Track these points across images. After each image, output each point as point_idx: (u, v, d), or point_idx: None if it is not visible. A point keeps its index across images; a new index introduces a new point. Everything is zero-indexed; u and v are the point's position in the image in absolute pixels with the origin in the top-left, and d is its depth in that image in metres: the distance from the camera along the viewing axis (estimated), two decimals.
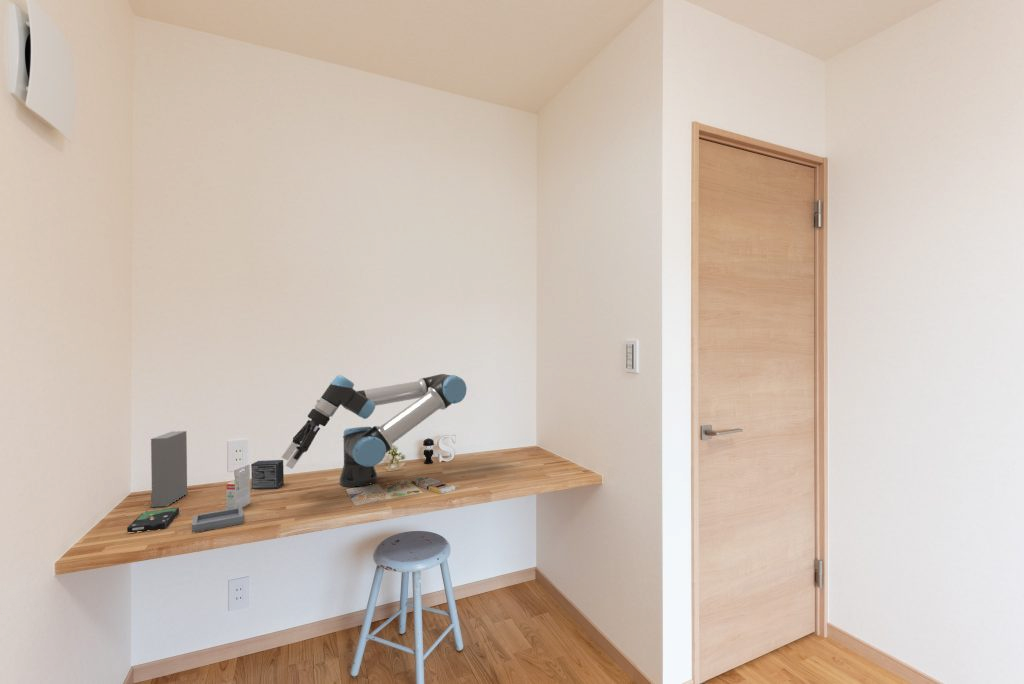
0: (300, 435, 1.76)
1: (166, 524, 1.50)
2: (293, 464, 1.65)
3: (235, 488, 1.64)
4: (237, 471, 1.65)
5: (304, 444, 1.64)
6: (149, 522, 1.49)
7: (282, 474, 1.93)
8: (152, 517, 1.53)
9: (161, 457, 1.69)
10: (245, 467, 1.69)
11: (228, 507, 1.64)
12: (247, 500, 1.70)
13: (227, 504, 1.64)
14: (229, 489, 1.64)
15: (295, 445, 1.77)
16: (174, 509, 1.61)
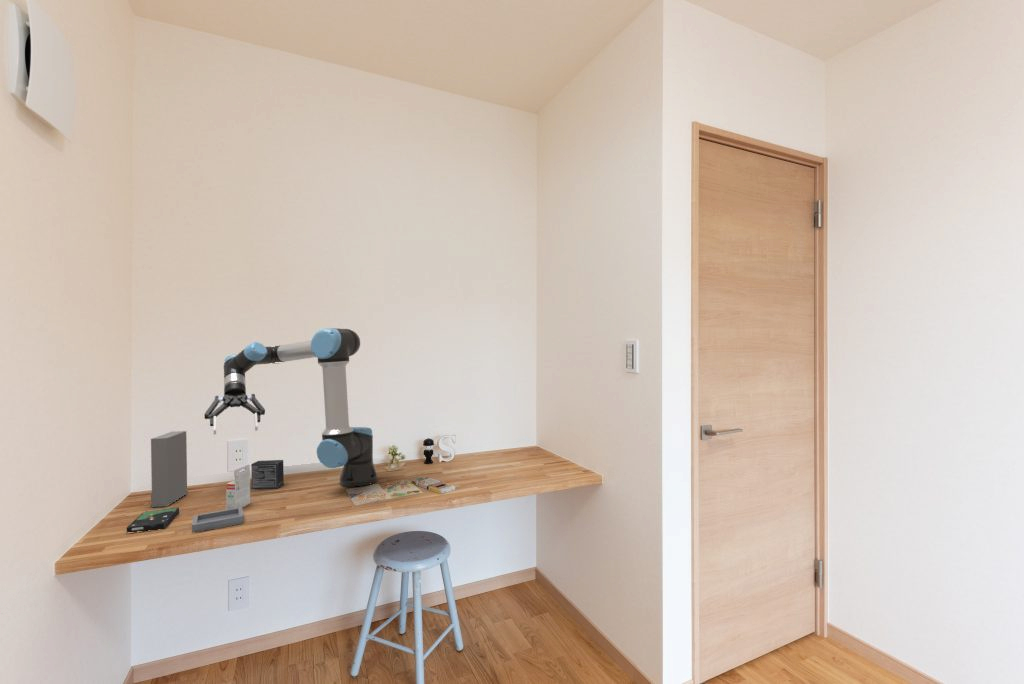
0: (247, 408, 1.85)
1: (166, 524, 1.50)
2: None
3: (235, 488, 1.64)
4: (237, 471, 1.65)
5: None
6: (148, 522, 1.49)
7: (282, 474, 1.93)
8: (152, 517, 1.53)
9: (161, 457, 1.69)
10: (245, 467, 1.69)
11: (228, 507, 1.64)
12: (247, 500, 1.70)
13: (227, 504, 1.64)
14: (229, 489, 1.64)
15: None
16: (174, 509, 1.61)
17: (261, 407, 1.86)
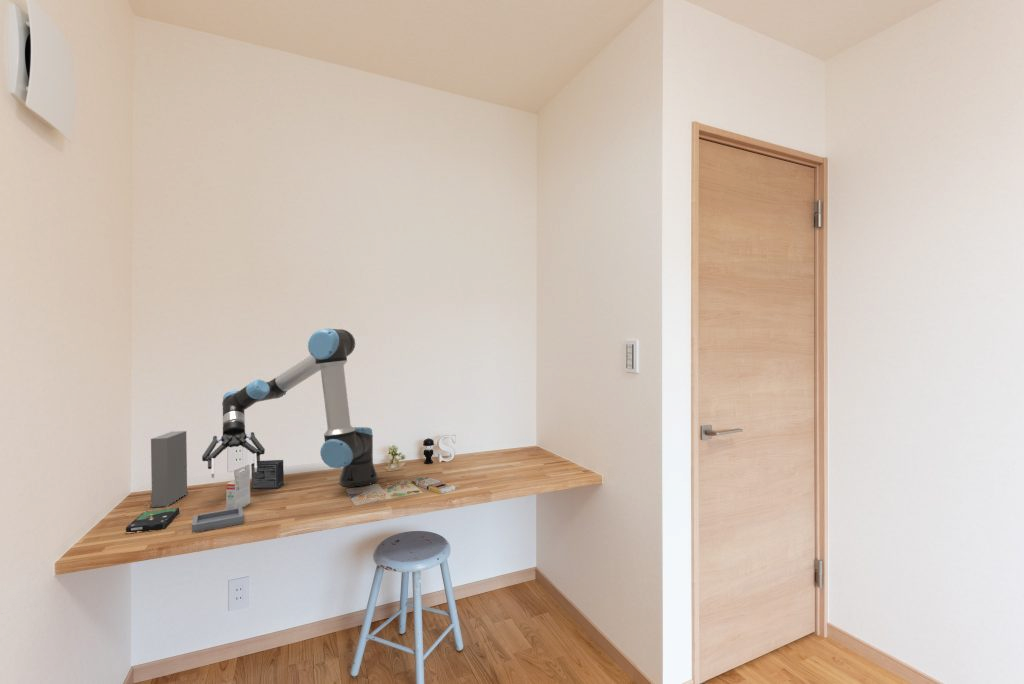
0: (247, 448, 1.80)
1: (165, 524, 1.50)
2: (211, 471, 1.68)
3: (235, 488, 1.64)
4: (237, 471, 1.65)
5: None
6: (148, 522, 1.49)
7: (282, 474, 1.93)
8: (151, 517, 1.53)
9: (160, 458, 1.69)
10: (245, 467, 1.69)
11: (228, 507, 1.64)
12: (247, 500, 1.70)
13: (227, 504, 1.64)
14: (229, 489, 1.64)
15: (254, 455, 1.78)
16: (174, 509, 1.60)
17: (261, 446, 1.81)
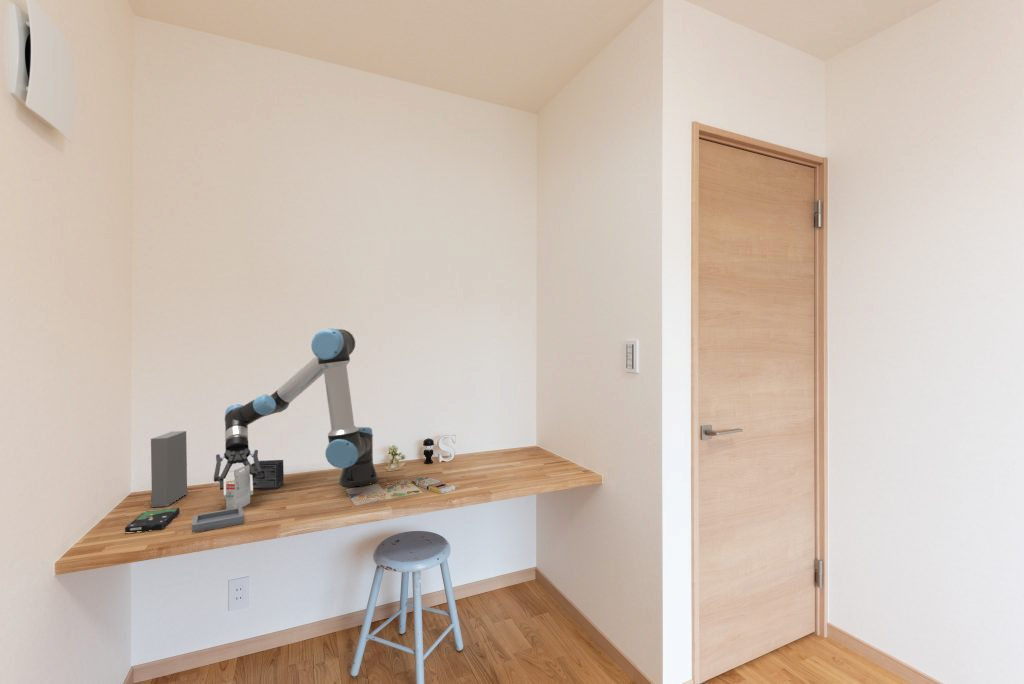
0: None
1: (164, 525, 1.49)
2: None
3: (234, 488, 1.64)
4: (237, 471, 1.65)
5: None
6: (147, 522, 1.49)
7: (282, 474, 1.93)
8: (151, 517, 1.53)
9: (160, 457, 1.69)
10: (245, 467, 1.69)
11: (228, 507, 1.64)
12: (247, 500, 1.70)
13: (227, 504, 1.64)
14: (229, 489, 1.64)
15: None
16: (174, 509, 1.60)
17: (258, 467, 1.73)
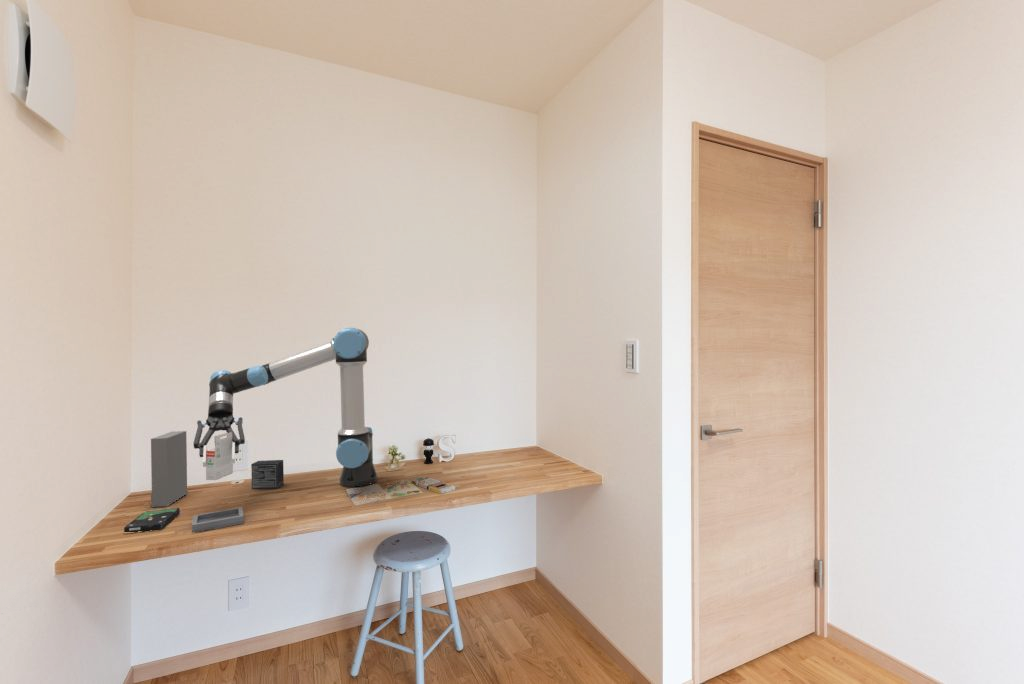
0: None
1: (163, 525, 1.49)
2: (203, 459, 1.52)
3: (215, 455, 1.53)
4: (218, 437, 1.55)
5: None
6: (146, 522, 1.49)
7: (282, 474, 1.93)
8: (151, 517, 1.53)
9: (161, 457, 1.69)
10: (227, 434, 1.59)
11: (208, 475, 1.54)
12: (229, 469, 1.60)
13: (207, 472, 1.54)
14: (209, 456, 1.54)
15: (232, 445, 1.60)
16: (174, 509, 1.60)
17: (242, 435, 1.63)
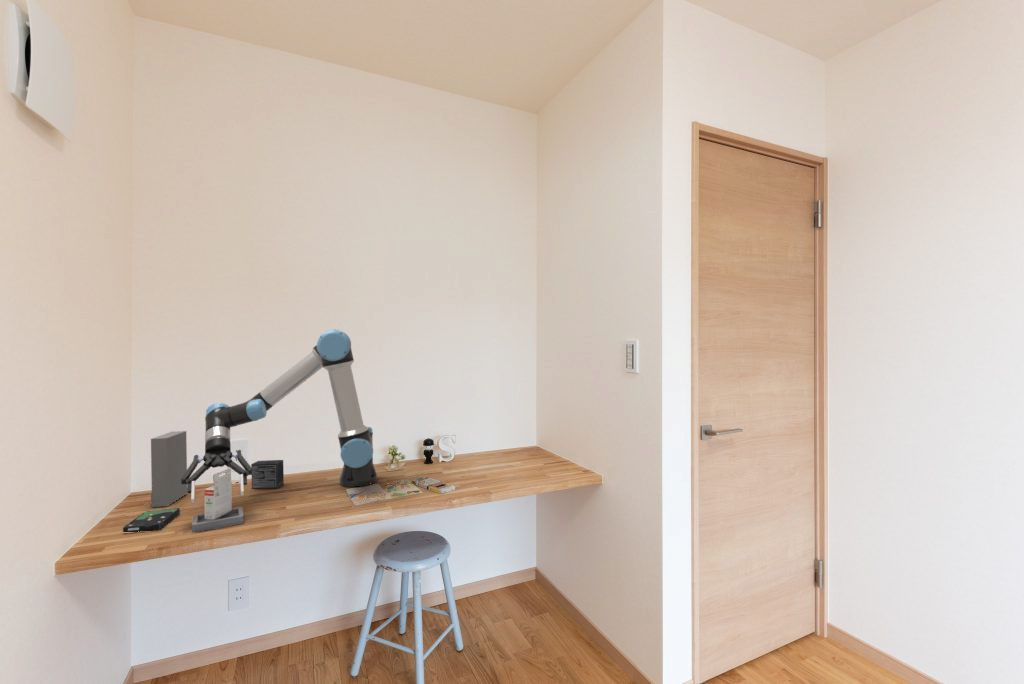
0: (232, 468, 1.60)
1: (161, 525, 1.49)
2: (191, 495, 1.48)
3: (214, 494, 1.49)
4: (216, 475, 1.51)
5: None
6: (145, 523, 1.49)
7: (282, 474, 1.93)
8: (150, 517, 1.53)
9: (161, 457, 1.69)
10: (226, 471, 1.55)
11: (206, 515, 1.50)
12: (228, 507, 1.56)
13: (205, 512, 1.50)
14: (207, 495, 1.49)
15: None
16: (174, 510, 1.60)
17: (248, 466, 1.61)
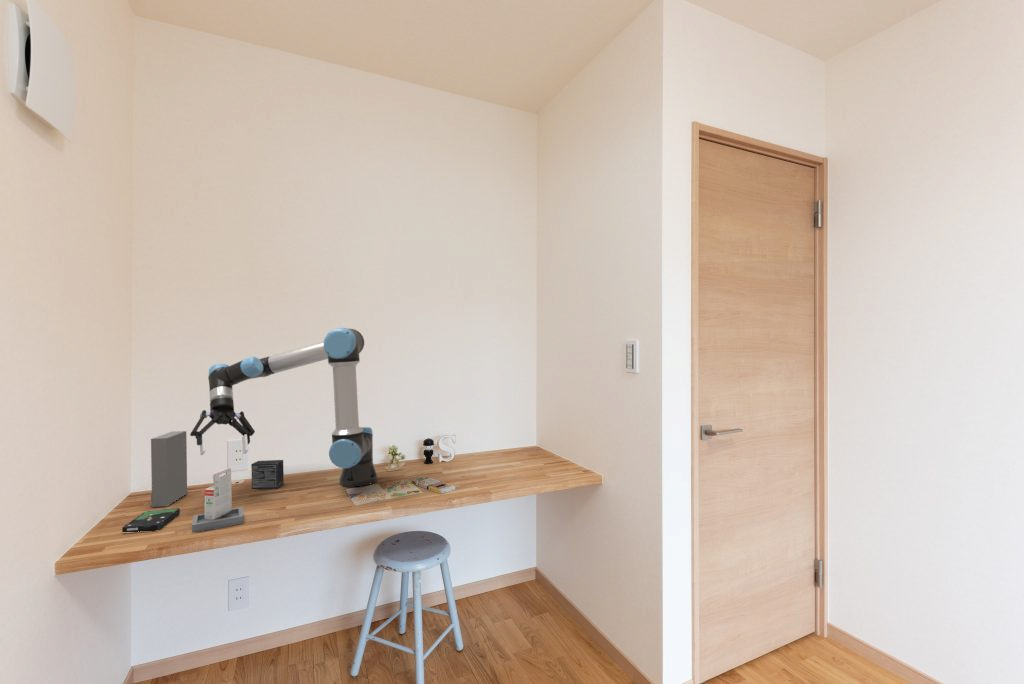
0: (235, 427, 1.74)
1: (160, 526, 1.49)
2: (202, 448, 1.60)
3: (214, 494, 1.49)
4: (216, 475, 1.51)
5: None
6: (144, 523, 1.48)
7: (282, 474, 1.93)
8: (150, 517, 1.53)
9: (161, 457, 1.69)
10: (226, 471, 1.55)
11: (206, 515, 1.50)
12: (228, 507, 1.56)
13: (205, 512, 1.50)
14: (207, 495, 1.49)
15: (243, 436, 1.73)
16: (174, 510, 1.60)
17: (251, 428, 1.76)
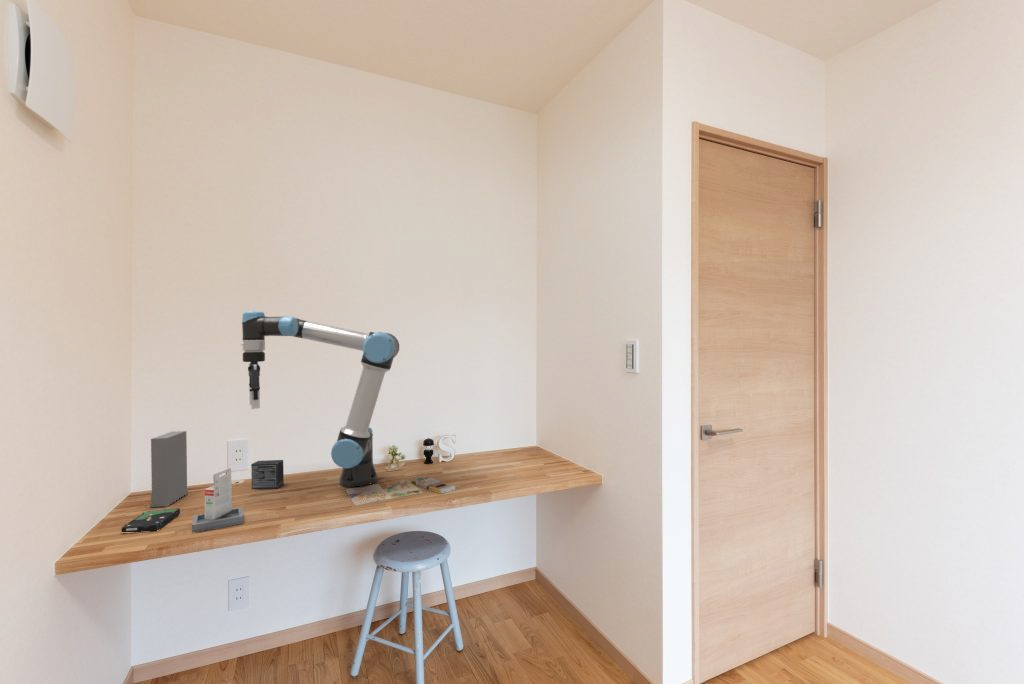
0: (251, 378, 1.83)
1: (159, 526, 1.48)
2: (258, 404, 1.74)
3: (214, 494, 1.49)
4: (217, 475, 1.51)
5: (253, 384, 1.71)
6: (143, 523, 1.48)
7: (282, 474, 1.93)
8: (150, 518, 1.53)
9: (161, 457, 1.69)
10: (226, 471, 1.55)
11: (206, 515, 1.50)
12: (228, 507, 1.56)
13: (205, 512, 1.50)
14: (207, 495, 1.49)
15: None
16: (174, 510, 1.60)
17: None
